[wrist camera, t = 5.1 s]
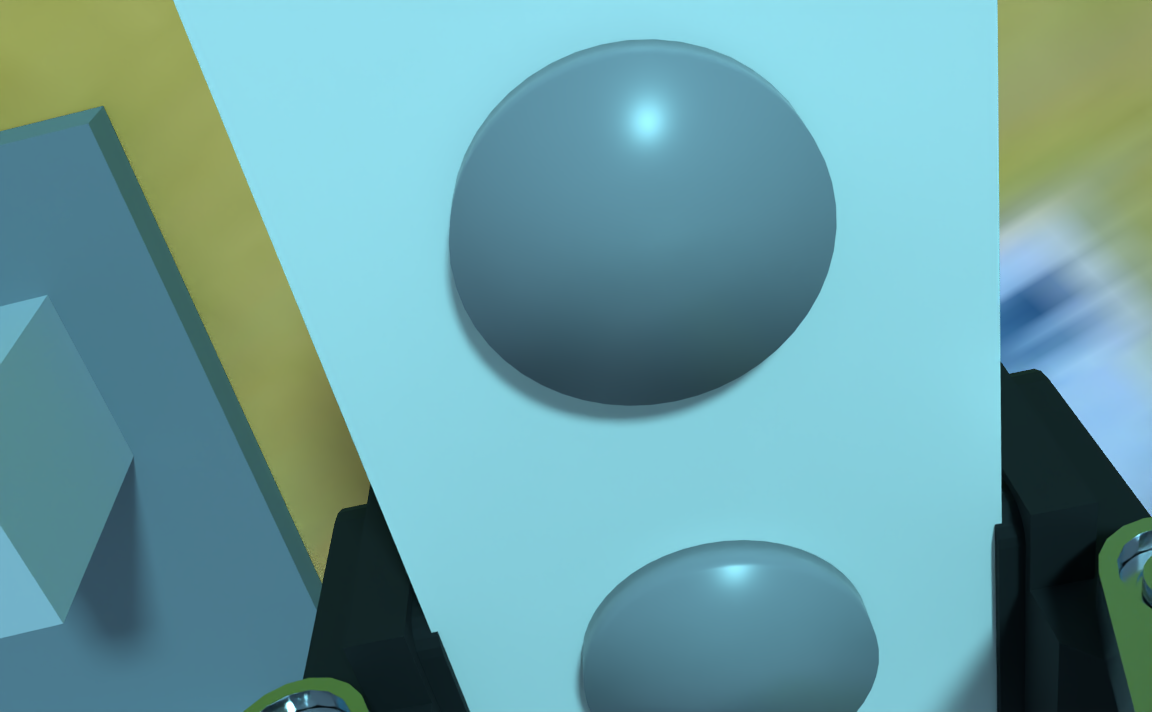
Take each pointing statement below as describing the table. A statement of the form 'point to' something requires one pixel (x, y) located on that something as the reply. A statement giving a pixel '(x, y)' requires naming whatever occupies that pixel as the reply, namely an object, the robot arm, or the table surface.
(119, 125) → the table surface
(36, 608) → the board
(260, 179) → the power strip
